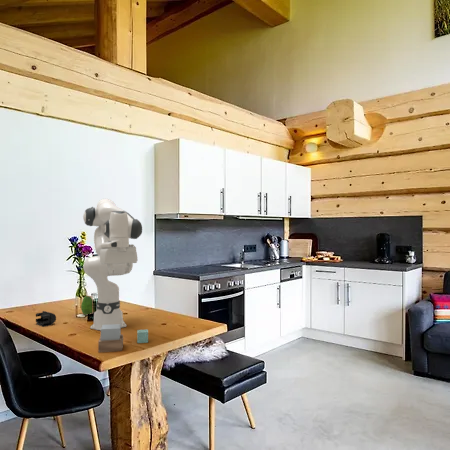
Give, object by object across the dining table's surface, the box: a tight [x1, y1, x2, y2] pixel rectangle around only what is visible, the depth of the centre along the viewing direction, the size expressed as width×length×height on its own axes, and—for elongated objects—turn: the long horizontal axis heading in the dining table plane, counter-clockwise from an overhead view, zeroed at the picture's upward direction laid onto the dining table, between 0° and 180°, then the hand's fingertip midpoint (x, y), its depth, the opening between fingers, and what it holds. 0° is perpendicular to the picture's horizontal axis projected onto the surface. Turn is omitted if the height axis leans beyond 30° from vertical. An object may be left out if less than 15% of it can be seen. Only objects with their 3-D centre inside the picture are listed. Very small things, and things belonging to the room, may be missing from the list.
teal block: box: [136, 329, 149, 344], centre depth 188 cm, size 5×5×5 cm
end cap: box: [35, 310, 57, 328], centre depth 221 cm, size 10×7×7 cm
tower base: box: [97, 333, 124, 353], centre depth 177 cm, size 10×10×5 cm
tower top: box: [100, 324, 122, 341], centre depth 178 cm, size 8×8×5 cm
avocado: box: [80, 295, 93, 316], centre depth 245 cm, size 8×8×12 cm
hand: (119, 273), depth 186 cm, fingers open, 8 cm apart
